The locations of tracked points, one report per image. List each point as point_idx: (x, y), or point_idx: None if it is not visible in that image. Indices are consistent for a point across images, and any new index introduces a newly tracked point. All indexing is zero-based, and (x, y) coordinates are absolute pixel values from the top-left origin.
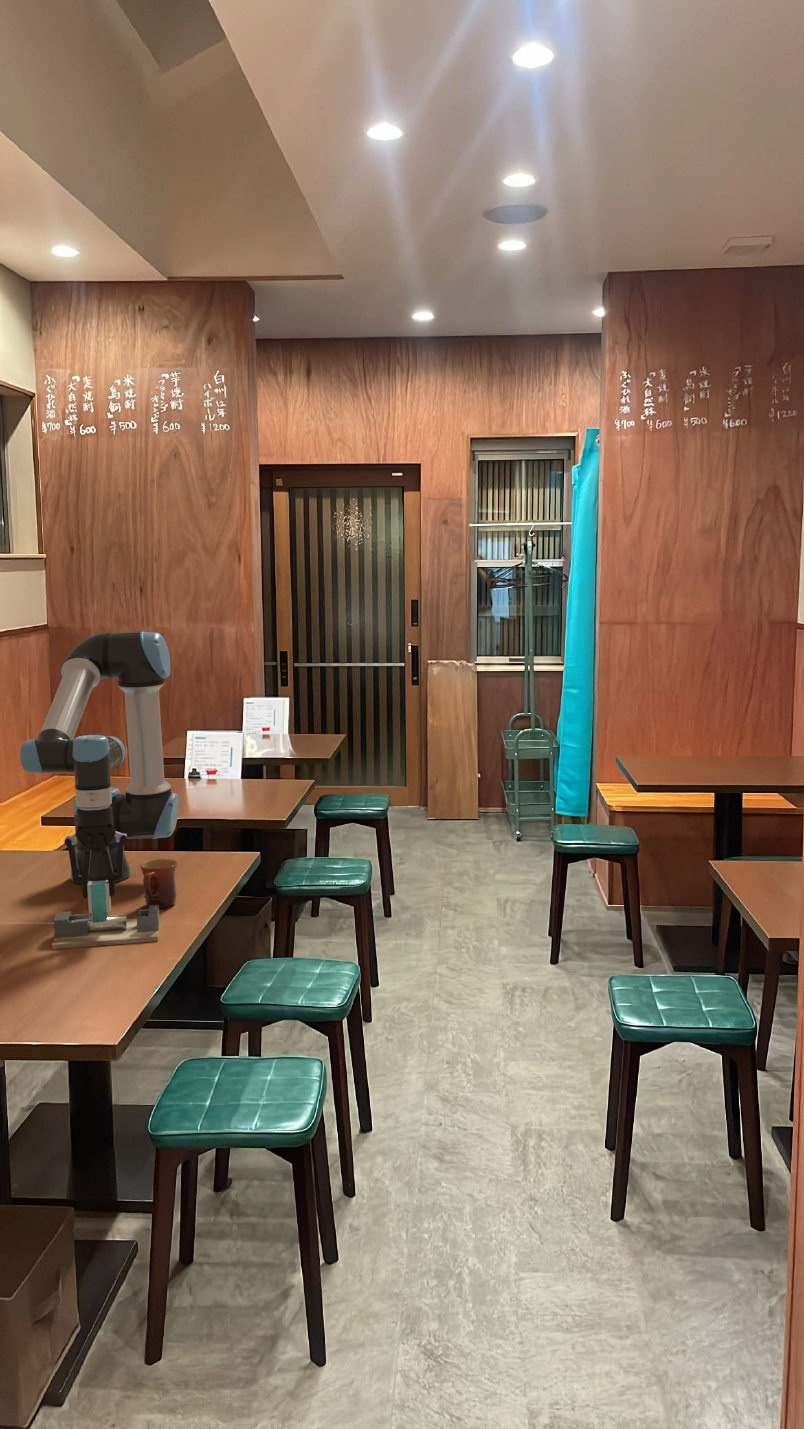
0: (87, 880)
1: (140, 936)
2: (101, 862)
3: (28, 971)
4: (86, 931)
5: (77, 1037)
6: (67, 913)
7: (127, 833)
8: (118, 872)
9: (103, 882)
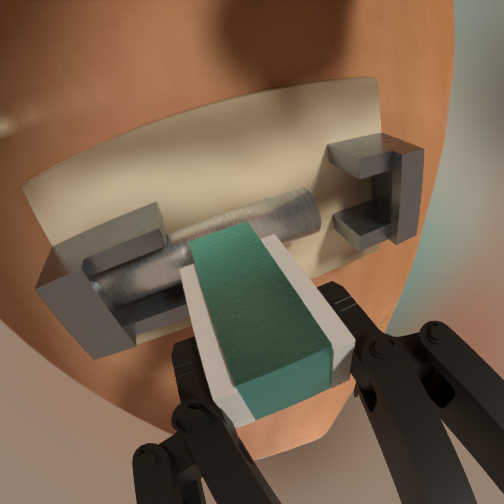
0: (244, 447)
1: (343, 256)
2: None
3: (159, 410)
4: None
5: (295, 444)
6: (84, 294)
7: None
8: (429, 390)
9: (319, 373)
